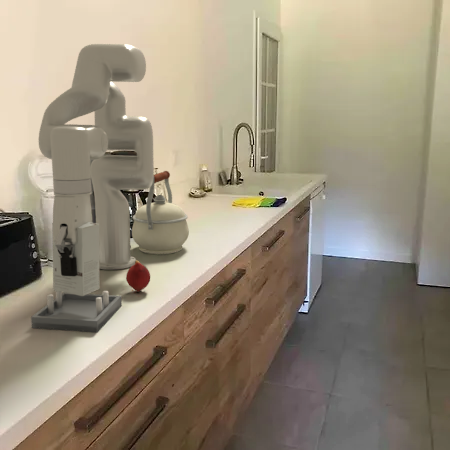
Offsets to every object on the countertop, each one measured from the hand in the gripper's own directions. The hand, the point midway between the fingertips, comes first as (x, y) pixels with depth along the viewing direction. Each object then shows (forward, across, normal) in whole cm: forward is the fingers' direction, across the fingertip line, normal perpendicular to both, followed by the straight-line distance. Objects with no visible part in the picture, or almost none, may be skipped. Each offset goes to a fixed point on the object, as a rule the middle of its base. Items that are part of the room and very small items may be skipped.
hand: (76, 269), depth 110 cm
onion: (+11, -18, +8) cm, 22 cm away
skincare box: (+5, 0, 0) cm, 5 cm away
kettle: (+11, -60, +3) cm, 62 cm away
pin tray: (+11, 0, 0) cm, 11 cm away
